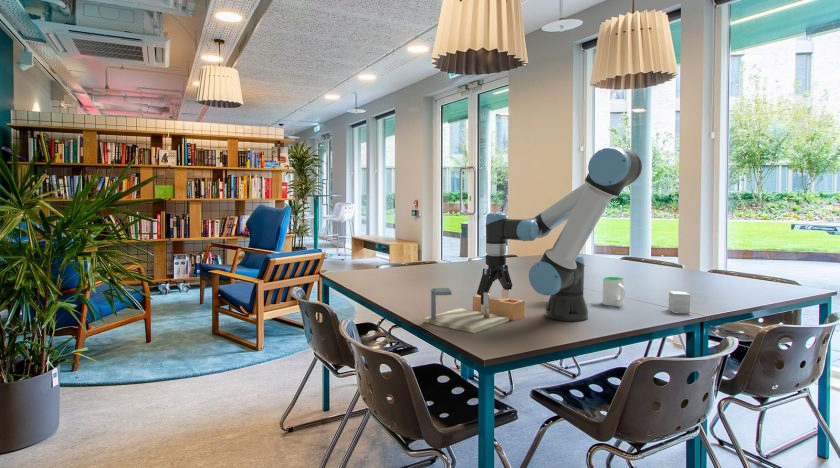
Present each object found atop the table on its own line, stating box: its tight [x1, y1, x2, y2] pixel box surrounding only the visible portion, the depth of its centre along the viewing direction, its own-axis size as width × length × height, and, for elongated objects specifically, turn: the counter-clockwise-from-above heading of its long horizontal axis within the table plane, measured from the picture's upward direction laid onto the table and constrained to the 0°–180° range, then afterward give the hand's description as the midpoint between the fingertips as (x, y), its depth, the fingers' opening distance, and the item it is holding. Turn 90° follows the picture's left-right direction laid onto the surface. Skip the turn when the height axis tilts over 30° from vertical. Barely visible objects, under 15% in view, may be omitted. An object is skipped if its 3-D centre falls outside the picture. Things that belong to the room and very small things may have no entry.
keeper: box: [430, 287, 452, 320], centre depth 181 cm, size 7×7×10 cm
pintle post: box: [484, 291, 491, 318], centre depth 182 cm, size 2×2×9 cm
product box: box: [667, 290, 691, 314], centre depth 196 cm, size 6×6×7 cm
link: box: [472, 294, 526, 321], centre depth 193 cm, size 20×7×6 cm, turn 49°
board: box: [423, 307, 510, 334], centre depth 183 cm, size 22×21×2 cm
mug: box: [602, 276, 626, 307], centre depth 209 cm, size 12×8×10 cm
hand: (495, 310), depth 194 cm, fingers open, 14 cm apart
